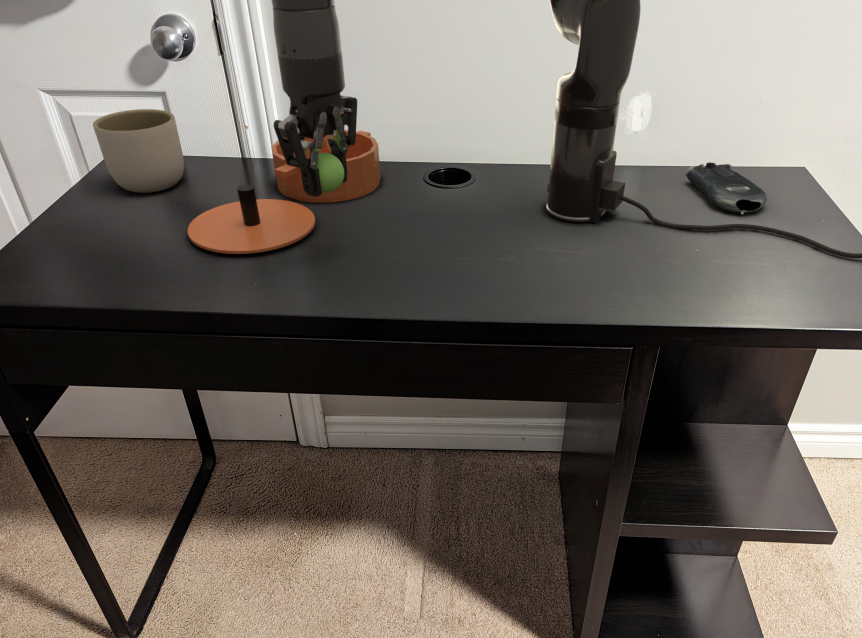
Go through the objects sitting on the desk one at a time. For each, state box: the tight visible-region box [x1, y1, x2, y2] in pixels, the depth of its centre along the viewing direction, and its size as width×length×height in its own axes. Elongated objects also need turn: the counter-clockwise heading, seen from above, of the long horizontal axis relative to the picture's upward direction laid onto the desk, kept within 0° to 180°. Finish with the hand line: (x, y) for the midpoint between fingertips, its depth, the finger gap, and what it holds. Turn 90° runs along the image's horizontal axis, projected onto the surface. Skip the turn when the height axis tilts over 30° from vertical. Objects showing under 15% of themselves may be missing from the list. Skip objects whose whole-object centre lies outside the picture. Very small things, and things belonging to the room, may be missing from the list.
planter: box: [92, 108, 185, 194], centre depth 115 cm, size 12×12×11 cm
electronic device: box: [685, 161, 768, 215], centre depth 114 cm, size 9×6×15 cm
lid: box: [187, 184, 316, 255], centre depth 102 cm, size 19×19×7 cm
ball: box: [317, 153, 344, 192], centre depth 90 cm, size 5×5×5 cm
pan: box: [271, 129, 381, 204], centre depth 117 cm, size 18×23×6 cm
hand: (327, 187), depth 91 cm, fingers closed on ball, 5 cm apart
